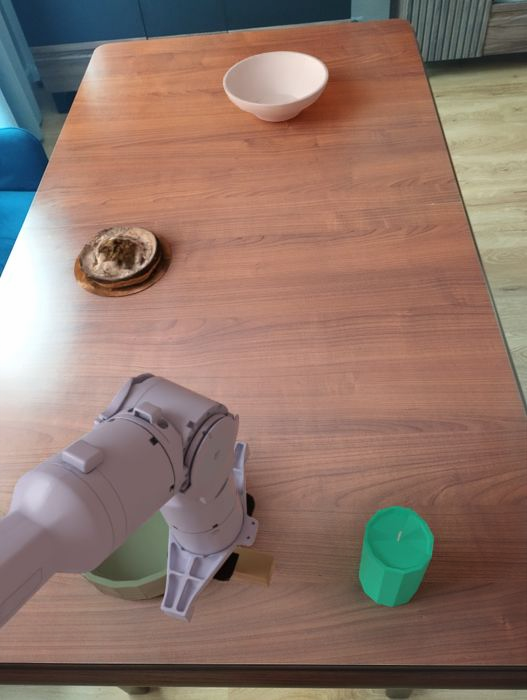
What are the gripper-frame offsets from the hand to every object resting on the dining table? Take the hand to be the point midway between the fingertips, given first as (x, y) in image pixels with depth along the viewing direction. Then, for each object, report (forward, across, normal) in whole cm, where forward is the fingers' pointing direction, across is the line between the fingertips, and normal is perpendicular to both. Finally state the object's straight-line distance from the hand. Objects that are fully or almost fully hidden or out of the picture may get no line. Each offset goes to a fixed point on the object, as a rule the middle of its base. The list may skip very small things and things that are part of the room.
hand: (223, 557), depth 53 cm
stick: (+1, 0, 0) cm, 1 cm away
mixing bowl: (+8, +3, +11) cm, 14 cm away
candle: (+8, +5, -15) cm, 17 cm away
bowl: (+8, +86, +20) cm, 89 cm away
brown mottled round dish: (+8, +41, +32) cm, 53 cm away
